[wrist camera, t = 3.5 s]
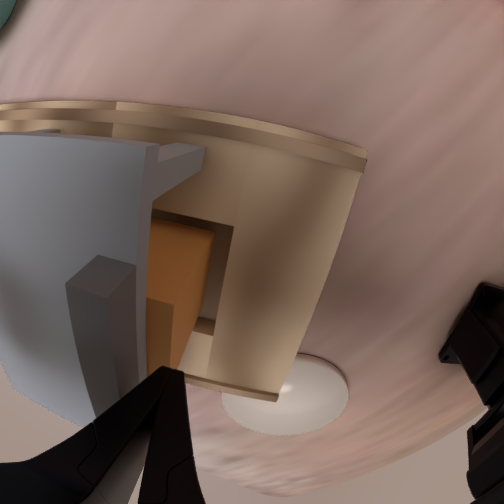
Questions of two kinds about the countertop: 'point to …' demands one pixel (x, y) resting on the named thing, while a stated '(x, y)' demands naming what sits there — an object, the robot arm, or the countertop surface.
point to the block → (174, 289)
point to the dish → (294, 400)
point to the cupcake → (5, 10)
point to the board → (236, 226)
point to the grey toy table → (79, 263)
